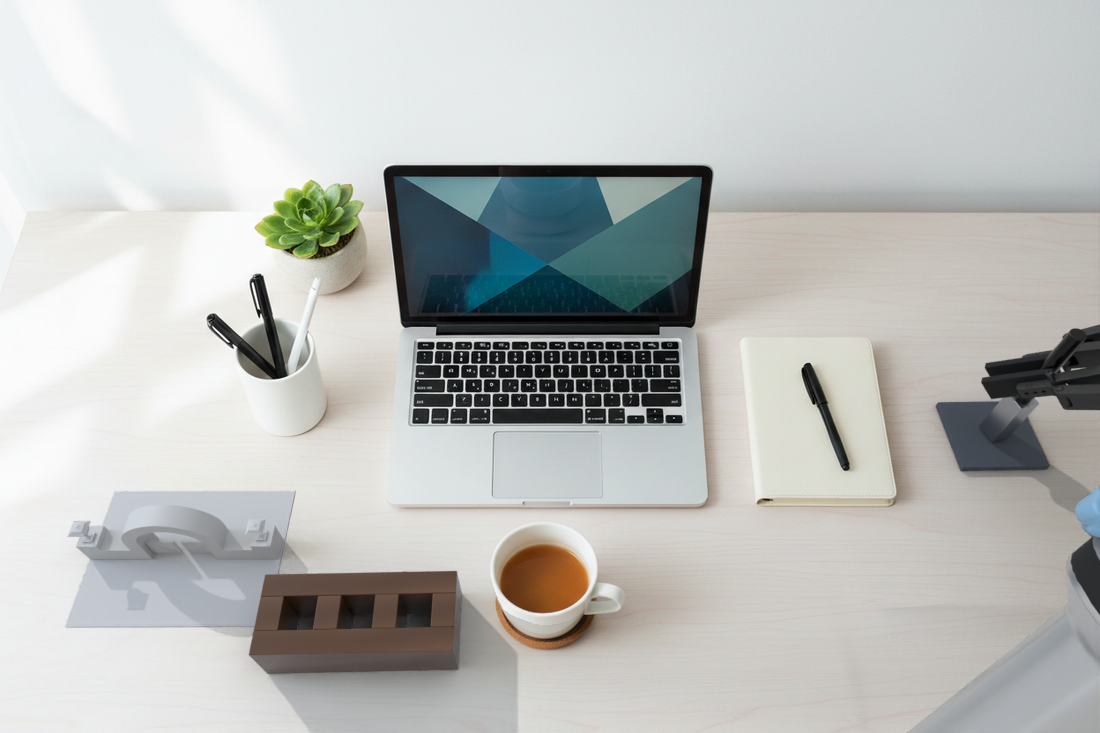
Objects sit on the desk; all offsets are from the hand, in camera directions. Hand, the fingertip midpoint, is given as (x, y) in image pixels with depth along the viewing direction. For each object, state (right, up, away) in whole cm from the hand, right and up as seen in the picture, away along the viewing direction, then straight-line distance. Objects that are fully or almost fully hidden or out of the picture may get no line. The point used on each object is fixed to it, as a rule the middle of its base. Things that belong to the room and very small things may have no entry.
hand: (988, 381), depth 86 cm
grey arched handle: (-87, -18, -4) cm, 89 cm away
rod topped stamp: (+3, -6, +5) cm, 8 cm away
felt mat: (+3, -7, +6) cm, 10 cm away
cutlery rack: (-67, -25, -9) cm, 72 cm away
